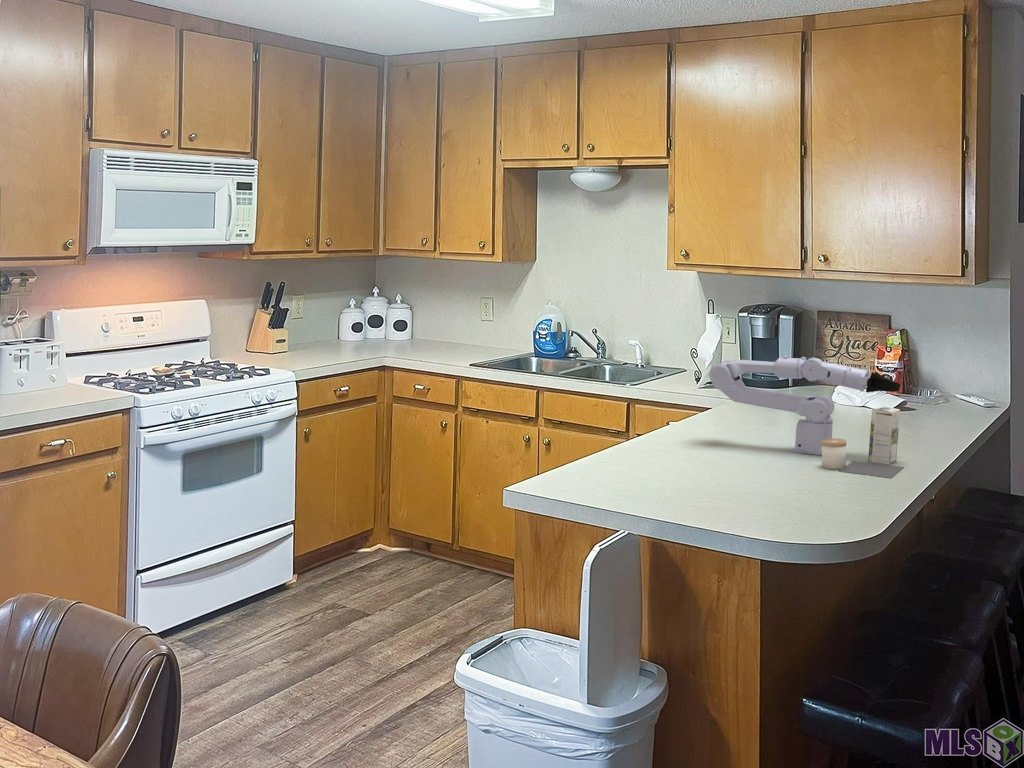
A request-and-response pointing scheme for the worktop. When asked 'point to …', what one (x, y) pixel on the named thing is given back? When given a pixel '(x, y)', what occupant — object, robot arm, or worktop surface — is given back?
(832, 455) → the canister
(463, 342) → the worktop surface
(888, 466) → the mat
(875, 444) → the syrup box
